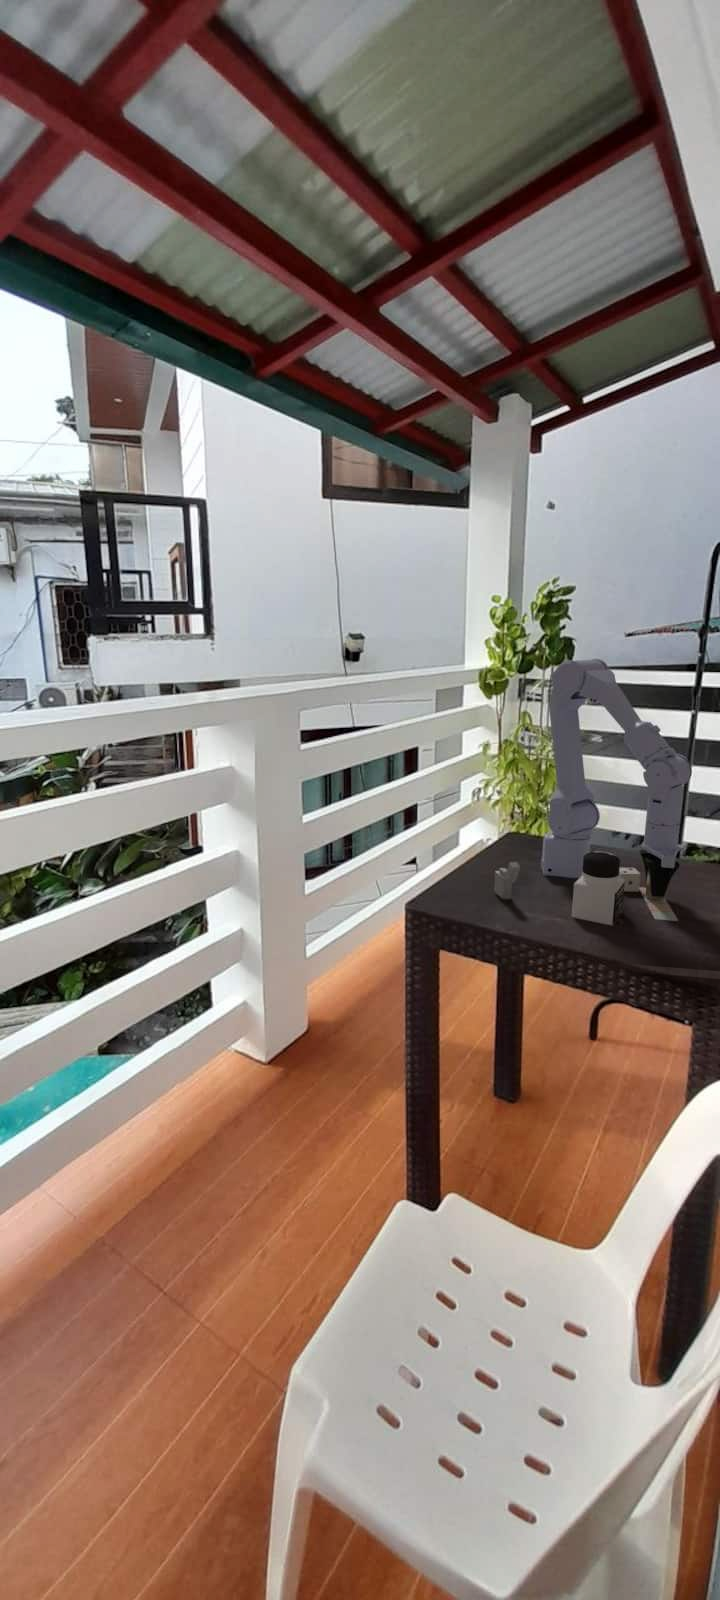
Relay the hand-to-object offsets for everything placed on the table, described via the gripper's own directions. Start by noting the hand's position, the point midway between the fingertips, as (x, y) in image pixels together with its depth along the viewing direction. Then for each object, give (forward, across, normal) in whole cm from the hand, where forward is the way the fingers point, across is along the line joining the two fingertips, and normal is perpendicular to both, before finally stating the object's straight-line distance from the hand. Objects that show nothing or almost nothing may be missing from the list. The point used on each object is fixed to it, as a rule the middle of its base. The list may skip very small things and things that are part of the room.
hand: (655, 892), depth 130 cm
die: (+1, +5, +4) cm, 7 cm away
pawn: (+1, 0, 0) cm, 1 cm away
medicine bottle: (+2, -10, +12) cm, 15 cm away
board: (+2, -2, +2) cm, 4 cm away
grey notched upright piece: (+2, -2, +27) cm, 27 cm away
